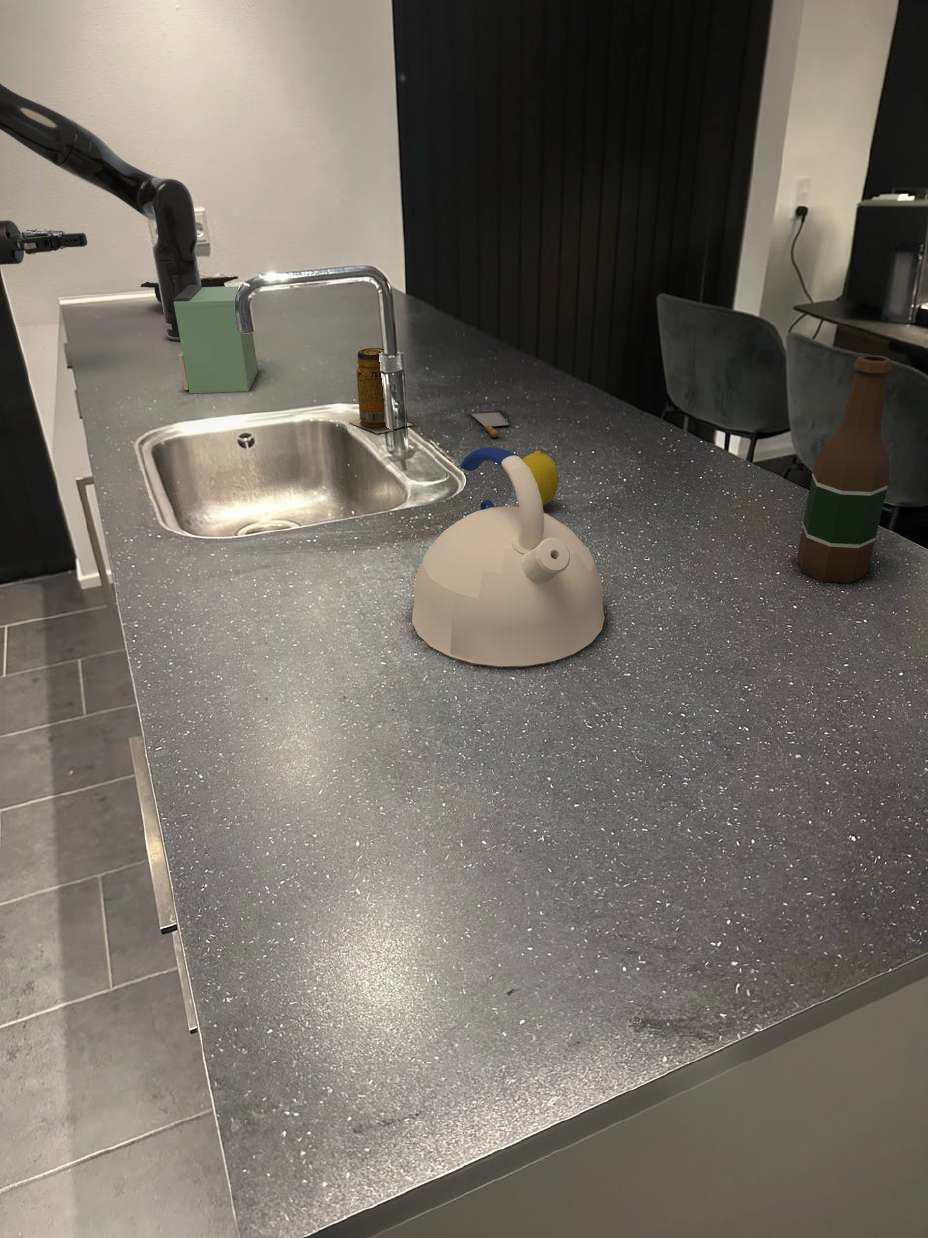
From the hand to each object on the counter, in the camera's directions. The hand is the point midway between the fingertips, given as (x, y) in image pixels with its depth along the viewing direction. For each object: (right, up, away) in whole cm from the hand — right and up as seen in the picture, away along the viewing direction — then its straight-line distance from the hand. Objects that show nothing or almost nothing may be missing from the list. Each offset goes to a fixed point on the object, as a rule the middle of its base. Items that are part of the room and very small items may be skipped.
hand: (85, 239), depth 168 cm
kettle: (+75, -71, -73) cm, 127 cm away
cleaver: (+76, -39, -18) cm, 87 cm away
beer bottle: (+113, -65, -65) cm, 146 cm away
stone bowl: (-1, +11, +69) cm, 70 cm away
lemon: (+80, -56, -48) cm, 109 cm away
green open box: (+24, -25, +7) cm, 35 cm away
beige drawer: (+23, -24, +7) cm, 34 cm away
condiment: (+57, -38, -17) cm, 70 cm away
